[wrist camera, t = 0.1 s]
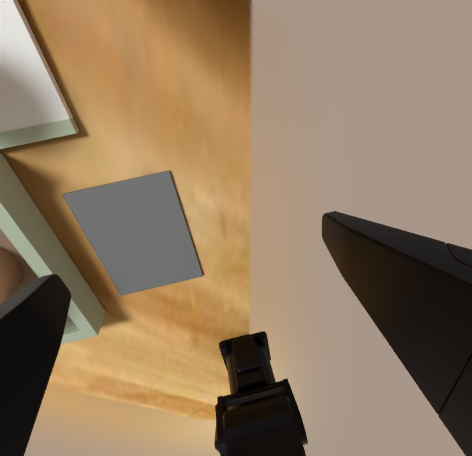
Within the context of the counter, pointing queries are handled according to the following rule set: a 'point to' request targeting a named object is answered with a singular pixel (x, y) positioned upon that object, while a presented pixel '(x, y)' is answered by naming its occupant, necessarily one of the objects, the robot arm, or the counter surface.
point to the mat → (137, 231)
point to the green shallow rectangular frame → (44, 255)
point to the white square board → (27, 85)
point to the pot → (9, 274)
